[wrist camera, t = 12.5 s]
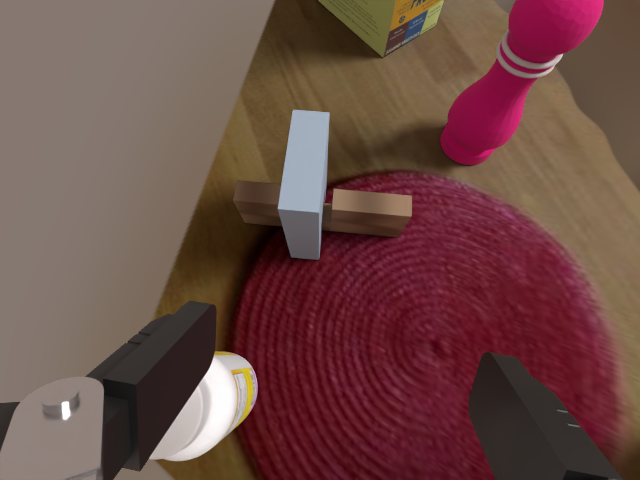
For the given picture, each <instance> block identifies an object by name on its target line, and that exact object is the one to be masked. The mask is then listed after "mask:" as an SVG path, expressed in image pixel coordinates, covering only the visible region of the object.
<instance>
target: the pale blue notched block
mask: <svg viewBox="0 0 640 480" xmlns="http://www.w3.org/2000/svg"><path fill="white" fill-rule="evenodd" d="M328 136H329V112H316V111H303V110H293V113H292V119H291V126H290V132H289V139H288V145H287V152H286V158H285V165H284V171H283V178H282V184H281V191H280V197H279V204H278V212H279V216H280V219H281V223H282V226H283V230H284V234H285V237H286V241H287V244H288V248H289V252H290V255H291V257H292V258H303V259H314V260H319V255H320V245H321V223H322V213H323V203H325V195H326V183H327V160H328Z"/></svg>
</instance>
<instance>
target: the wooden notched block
mask: <svg viewBox="0 0 640 480" xmlns="http://www.w3.org/2000/svg"><path fill="white" fill-rule="evenodd" d="M280 191H281V184H273V183H262V182H251V181H239V180H237V183H236V187H235V192H234V197H233V202H234V204H235V205H236V207H237V209H238V211H239V213H240V215H241V216H242V218H243V220H244V222H245V223H251V224H261V225H272V226H282V223H281V219H280V216H279V212H278V204H279V197H280ZM411 217H412V196H408V195H397V194H386V193H375V192H363V191H352V190H341V189H334V193H333V204H326V203H323V213H322V223H321V230H326V231H337V232H347V233H358V234H369V235H380V236H390V237H399V235H400V234H401V232H402V231H403V229H404V228H405V226H406V225H407V223H408V222H409V220H410V218H411Z"/></svg>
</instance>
